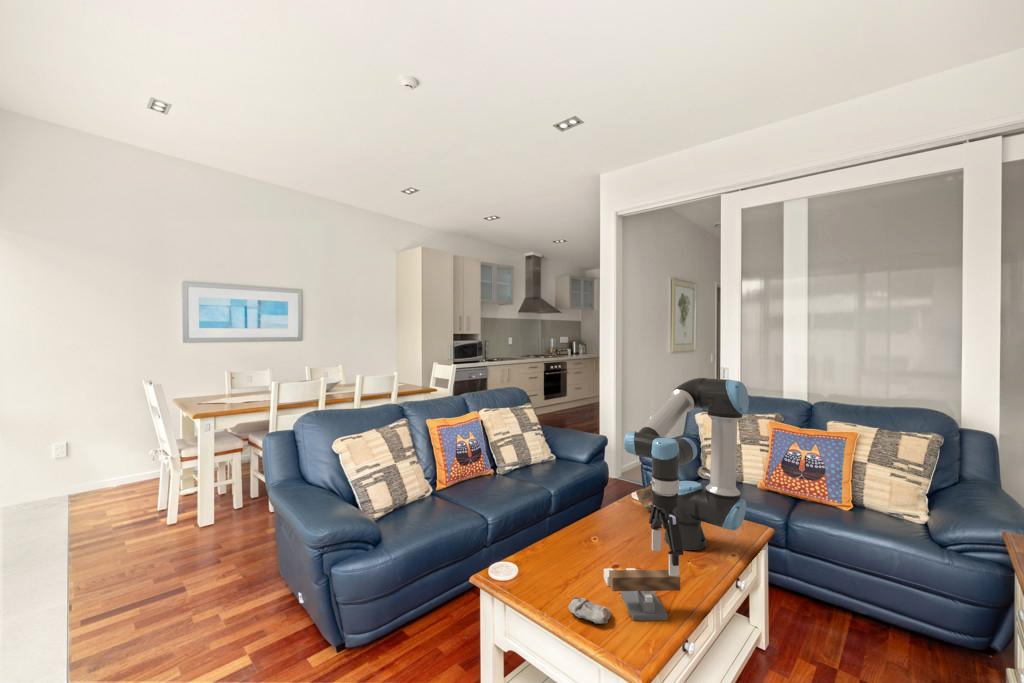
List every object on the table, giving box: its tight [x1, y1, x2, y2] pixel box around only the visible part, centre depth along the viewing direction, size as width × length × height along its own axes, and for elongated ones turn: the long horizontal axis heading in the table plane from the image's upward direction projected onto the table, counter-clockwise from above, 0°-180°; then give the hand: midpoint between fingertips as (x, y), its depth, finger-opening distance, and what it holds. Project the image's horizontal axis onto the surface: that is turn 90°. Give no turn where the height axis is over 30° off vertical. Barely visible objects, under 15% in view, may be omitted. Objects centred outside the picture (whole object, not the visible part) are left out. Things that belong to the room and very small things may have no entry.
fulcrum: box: [620, 591, 669, 621], centre depth 130 cm, size 10×12×6 cm
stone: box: [567, 596, 612, 625], centre depth 126 cm, size 12×9×3 cm
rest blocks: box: [603, 567, 637, 587], centre depth 143 cm, size 10×5×3 cm, turn 92°
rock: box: [635, 484, 653, 511], centre depth 202 cm, size 12×12×10 cm
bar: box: [609, 569, 681, 592], centre depth 130 cm, size 20×4×4 cm, turn 92°
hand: (664, 562), depth 130 cm, fingers open, 13 cm apart
